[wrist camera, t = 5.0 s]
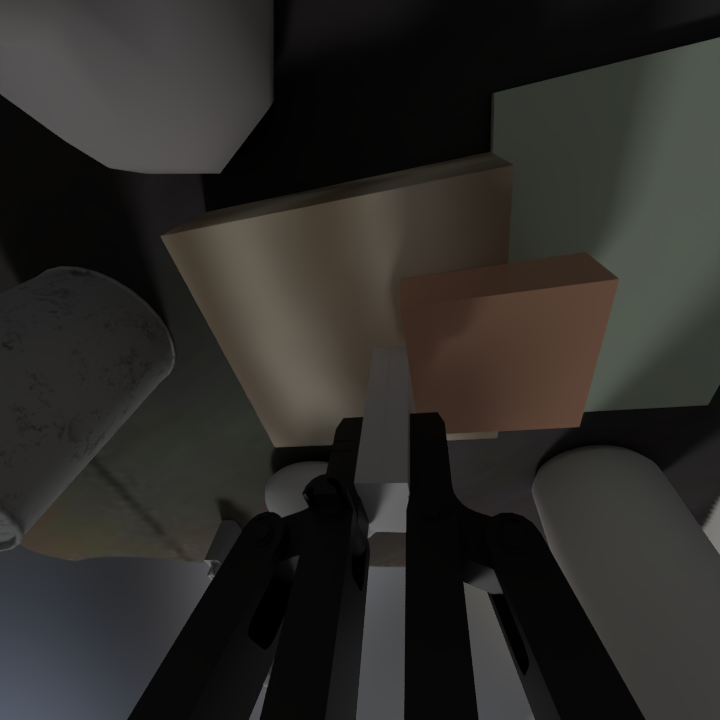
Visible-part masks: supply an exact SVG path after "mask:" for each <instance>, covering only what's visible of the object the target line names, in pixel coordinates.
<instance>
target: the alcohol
mask: <svg viewBox="0 0 720 720" xmlns="http://www.w3.org/2000/svg"><path fill="white" fill-rule="evenodd" d="M532 495H533V498H534V501H535V504H536V507H537V510H538V513H539V516H540V519H541V522H542V526H543V529H544V532H545V535H546V538H547V541H548V544H549V547H550V550H551V553H552V554H553V556H554V558H555V560H556V561H557V563H558V565H559V567H560V569H561V570H562V572H563V574H564V576H565V577H566V579H567V581H568V583H569V585H570V586H571V588H572V590H573V592H574V593H575V595H576V597H577V599H578V600H579V602H580V604H581V606H582V608H583V609H584V611H585V613H586V615H587V616H588V618H589V620H590V622H591V624H592V625H593V627H594V629H595V631H596V632H597V634H598V636H599V638H600V640H601V641H602V643H603V645H604V647H605V648H606V650H607V652H608V654H609V655H610V657H611V659H612V661H613V663H614V664H615V666H616V668H617V670H618V671H619V673H620V675H621V677H622V679H623V680H624V682H625V684H626V686H627V687H628V689H629V691H630V693H631V695H632V696H633V698H634V700H635V702H636V703H637V705H638V707H639V709H640V711H641V712H642V714H643V716H644V718H645V719H646V720H720V555H719V553H718V552H717V550H716V549H715V548H714V546H713V545H712V543H711V542H710V541H709V539H708V537H707V536H706V534H705V533H704V532H703V530H702V529H701V527H700V526H699V524H698V523H697V522H696V520H695V519H694V517H693V516H692V514H691V513H690V511H689V510H688V509H687V507H686V506H685V504H684V503H683V501H682V500H681V498H680V497H679V496H678V494H677V493H676V491H675V490H674V488H673V487H672V486H671V484H670V483H669V481H668V480H667V478H666V477H665V475H664V474H663V473H662V471H661V470H660V468H659V467H658V466H657V465H656V464H655V463H654V462H653V461H652V460H650V459H648V458H646V457H645V456H643V455H641V454H638V453H636V452H634V451H632V450H630V449H627V448H624V447H620V446H613V445H590V446H584V447H578V448H574V449H571V450H568V451H565V452H563V453H560V454H558V455H556V456H554V457H553V458H551V459H549V460H548V461H547V462H545V463H544V464H543V465H542V466H541V467H540V469H539V470H538V472H537V474H536V477H535V480H534V482H533V485H532Z"/></svg>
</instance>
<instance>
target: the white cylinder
mask: <svg viewBox="0 0 720 720" xmlns="http://www.w3.org/2000/svg"><path fill="white" fill-rule="evenodd" d="M175 357H176V351H175V346H174V341H173V339H172V336H171V334H170V332H169V329H168V328H167V326H166V325H165V323H164V322H163V320H162V319H161V317H160V316H159V315H158V314H157V312H156V311H155V310H154V309H153V308H152V307H151V306H150V305H149V304H148V303H147V302H146V301H145V300H144V299H143V298H141V297H140V296H139V295H138V294H136V293H135V292H134V291H133V290H132V289H130V288H128V287H127V286H125V285H123V284H122V283H120V282H119V281H117V280H115V279H113V278H111V277H109V276H106V275H104V274H102V273H99V272H97V271H94V270H90V269H86V268H81V267H71V266H60V267H56V268H52V269H48V270H46V271H44V272H43V273H41V274H40V275H38V276H37V277H35V278H33V279H30V280H28V281H26V282H24V283H22V284H20V285H18V286H15V287H13V288H11V289H9V290H7V291H5V292H3V293H0V551H5V550H10V549H12V548H14V547H15V546H17V545H18V544H20V543H21V542H22V541H23V537H24V535H25V534H26V533H27V532H28V530H29V529H30V528H31V527H32V526H33V525H34V524H35V523H36V521H37V520H38V519H39V518H40V517H41V516H42V515H43V514H44V512H45V511H46V510H47V509H48V508H49V507H50V506H51V505H52V503H53V502H54V501H55V500H56V499H57V498H58V497H59V496H60V494H61V493H62V492H63V491H64V490H65V489H66V488H67V487H68V485H69V484H70V483H71V482H72V481H73V480H74V479H75V478H76V476H77V475H78V474H79V473H80V472H81V471H82V470H83V469H84V467H85V466H86V465H87V464H88V463H89V462H90V461H91V460H92V458H93V457H94V456H95V455H96V454H97V453H98V452H99V451H100V449H101V448H102V447H103V446H104V445H105V444H106V443H107V442H108V440H109V439H110V438H111V437H112V436H113V435H114V434H115V433H116V431H117V430H118V429H119V428H120V427H121V426H122V425H123V424H124V422H125V421H126V420H127V419H128V418H129V417H130V416H131V415H132V413H133V412H134V411H135V410H136V409H137V408H138V407H139V406H140V404H141V403H142V402H143V401H144V400H145V399H146V398H147V397H148V395H149V394H150V393H151V392H152V391H153V390H154V389H155V388H156V386H157V385H158V384H159V383H160V382H161V381H162V380H163V379H164V378H165V377H167V376H168V375H169V374H170V372H171V371H172V369H173V367H174V365H175Z"/></svg>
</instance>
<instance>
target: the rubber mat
mask: <svg viewBox="0 0 720 720" xmlns="http://www.w3.org/2000/svg"><path fill="white" fill-rule="evenodd" d="M490 152H492V153H494V154H495V155H497V156H499V157H501V158H502V159H504V160H506V161H508V162H509V163H511V164H513V165H514V171H513V188H512V204H511V221H510V238H509V255H508V263H513V262H519V261H526V260H533V259H540V258H546V257H553V256H560V255H567V254H573V253H580V252H586V253H588V254H589V255H590V256H591V257H593V258H594V259H595V260H596V261H598V262H599V263H600V264H601V265H603V266H604V267H605V268H606V269H608V270H609V271H610V272H611V273H613V274H614V275H615V276H616V277H618V278H619V282H618V286H617V290H616V294H615V297H614V301H613V305H612V308H611V312H610V316H609V319H608V323H607V327H606V331H605V334H604V338H603V342H602V345H601V349H600V353H599V357H598V360H597V364H596V368H595V371H594V375H593V379H592V383H591V386H590V390H589V394H588V397H587V401H586V405H585V409H584V412H590V411H608V410H627V409H645V408H663V407H682V406H700V405H708V404H709V402H710V401H711V399H712V397H713V395H714V394H715V392H716V390H717V388H718V387H719V385H720V37H719V38H714V39H710V40H706V41H702V42H698V43H694V44H690V45H686V46H682V47H678V48H674V49H670V50H666V51H662V52H658V53H654V54H650V55H646V56H642V57H637V58H633V59H629V60H625V61H621V62H617V63H613V64H609V65H605V66H601V67H597V68H593V69H589V70H585V71H581V72H577V73H573V74H569V75H564V76H560V77H556V78H552V79H548V80H544V81H540V82H536V83H532V84H528V85H524V86H520V87H516V88H512V89H508V90H504V91H500V92H496V93H492V102H491V145H490Z"/></svg>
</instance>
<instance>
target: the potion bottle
mask: <svg viewBox="0 0 720 720" xmlns="http://www.w3.org/2000/svg"><path fill="white" fill-rule="evenodd" d="M0 94H1V95H2V96H4V97H5V98H6V99H8V100H9V101H10V102H12V103H13V104H15V105H16V106H17V107H19V108H20V109H22V110H23V111H24V112H26V113H27V114H28V115H30V116H31V117H33V118H34V119H35V120H37V121H38V122H40V123H41V124H42V125H44V126H45V127H46V128H48V129H49V130H51V131H52V132H53V133H55V134H56V135H58V136H59V137H60V138H62V139H63V140H64V141H66V142H68V143H69V144H71V145H72V146H74V147H76V148H77V149H79V150H81V151H82V152H84V153H85V154H87V155H89V156H90V157H92V158H94V159H95V160H97V161H98V162H100V163H102V164H103V165H105V166H107V167H108V168H113V169H119V170H126V171H133V172H140V173H146V174H194V173H221V171H222V170H223V169H224V167H225V166H226V165H227V163H228V162H229V161H230V159H231V158H232V157H233V156H234V154H235V153H236V152H237V150H238V149H239V148H240V146H241V145H242V144H243V142H244V141H245V140H246V138H247V137H248V136H249V134H250V133H251V132H252V130H253V129H254V128H255V127H256V125H257V124H258V123H259V121H260V120H261V119H262V117H263V116H264V115H265V113H266V112H267V111H268V109H269V108H270V106H271V105H272V103H273V101H274V0H0Z"/></svg>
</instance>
